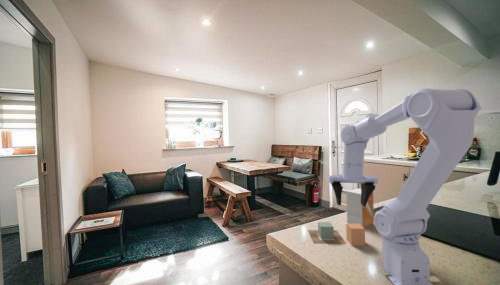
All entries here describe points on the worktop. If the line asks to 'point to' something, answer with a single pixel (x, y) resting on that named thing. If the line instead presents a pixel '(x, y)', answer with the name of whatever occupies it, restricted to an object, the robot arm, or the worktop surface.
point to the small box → (359, 209)
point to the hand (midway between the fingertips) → (350, 204)
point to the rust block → (355, 234)
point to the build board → (318, 240)
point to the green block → (325, 230)
